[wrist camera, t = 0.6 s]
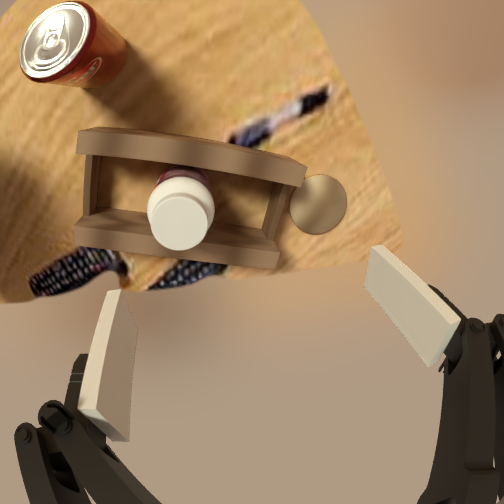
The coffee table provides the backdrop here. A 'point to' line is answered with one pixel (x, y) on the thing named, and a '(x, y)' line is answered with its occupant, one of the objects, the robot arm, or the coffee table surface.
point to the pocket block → (190, 154)
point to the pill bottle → (181, 207)
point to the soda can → (72, 47)
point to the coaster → (318, 204)
